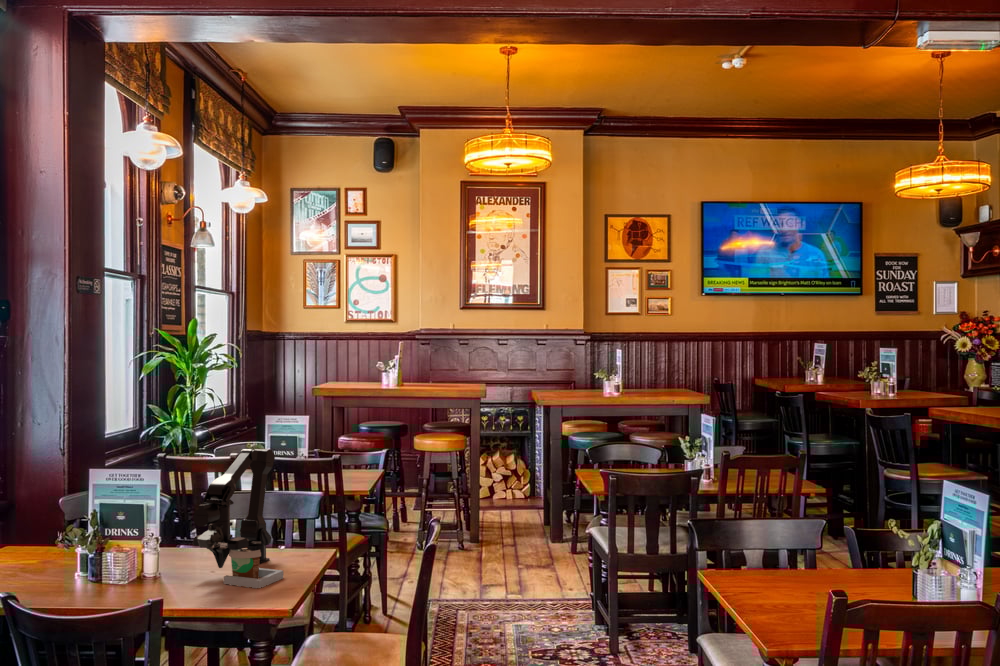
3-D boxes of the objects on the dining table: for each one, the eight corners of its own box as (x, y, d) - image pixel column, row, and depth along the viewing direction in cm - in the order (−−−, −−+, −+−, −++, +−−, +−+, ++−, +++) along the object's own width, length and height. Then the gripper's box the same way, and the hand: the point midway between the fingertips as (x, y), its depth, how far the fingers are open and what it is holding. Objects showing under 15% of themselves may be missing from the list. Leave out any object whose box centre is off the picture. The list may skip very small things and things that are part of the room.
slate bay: (248, 574, 266) (248, 566, 266) (283, 578, 260) (283, 570, 260) (223, 584, 255) (223, 576, 255) (259, 588, 249) (259, 580, 249)
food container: (220, 579, 259) (220, 548, 260) (236, 575, 264) (236, 544, 265) (245, 585, 253) (245, 553, 253) (261, 580, 258) (261, 549, 258)
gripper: (180, 523, 259) (180, 571, 259) (225, 527, 252) (225, 577, 251) (205, 516, 269) (205, 562, 269) (249, 520, 262) (249, 568, 262)
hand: (220, 567), depth 262 cm, fingers closed
